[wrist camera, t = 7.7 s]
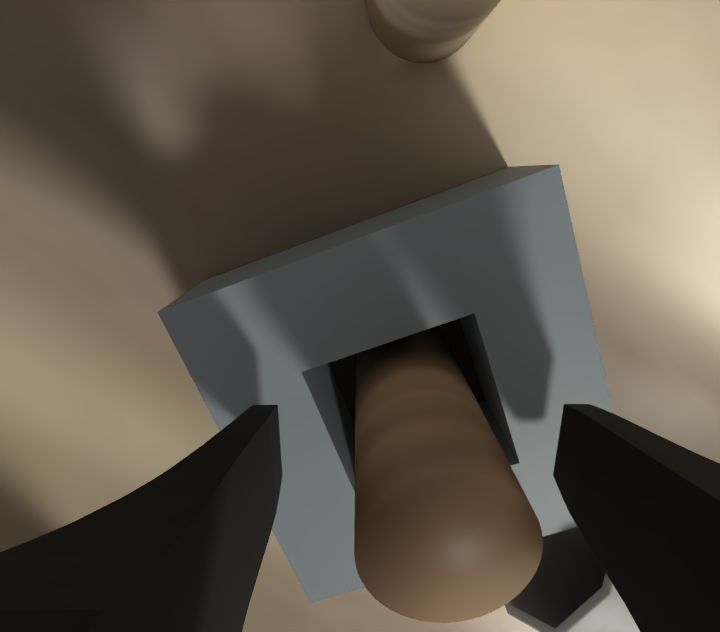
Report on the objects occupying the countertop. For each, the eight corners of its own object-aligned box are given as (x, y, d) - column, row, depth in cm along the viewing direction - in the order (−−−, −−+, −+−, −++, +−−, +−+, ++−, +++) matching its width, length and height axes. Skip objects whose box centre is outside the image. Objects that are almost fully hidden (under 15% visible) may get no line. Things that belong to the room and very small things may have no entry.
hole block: (319, 519, 17) (310, 602, 14) (204, 280, 14) (157, 312, 11) (577, 441, 16) (634, 510, 13) (508, 166, 13) (558, 164, 10)
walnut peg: (340, 339, 15) (323, 513, 7) (430, 302, 15) (509, 445, 7) (378, 417, 16) (396, 643, 8) (463, 383, 15) (565, 589, 8)
